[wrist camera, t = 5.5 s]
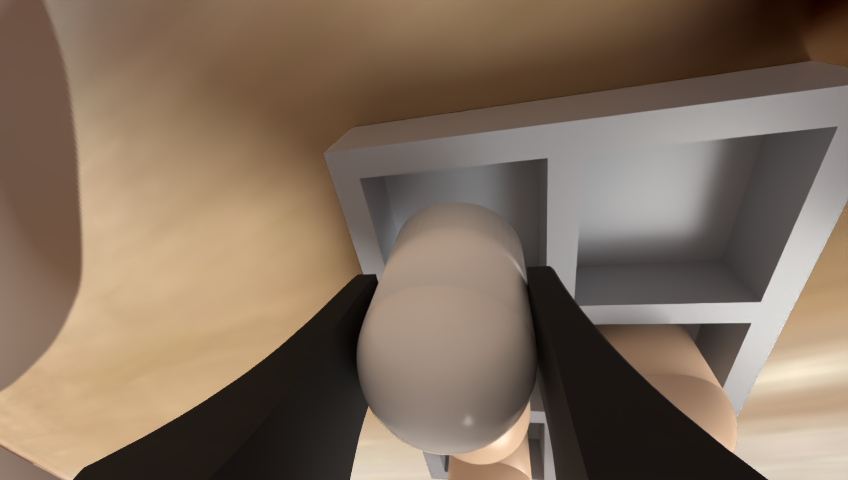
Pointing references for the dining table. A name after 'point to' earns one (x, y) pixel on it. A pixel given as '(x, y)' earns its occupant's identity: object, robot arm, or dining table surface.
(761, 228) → the egg carton
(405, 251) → the white egg
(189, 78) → the dining table surface
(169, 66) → the dining table surface
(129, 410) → the dining table surface
